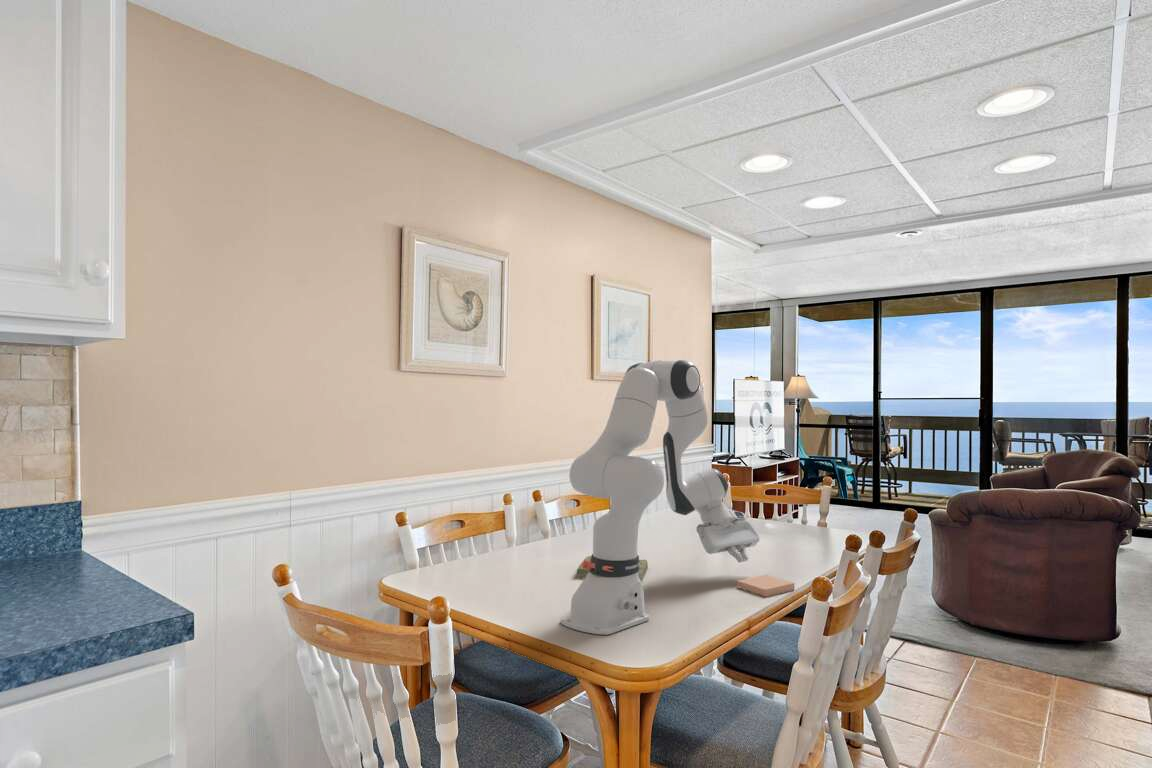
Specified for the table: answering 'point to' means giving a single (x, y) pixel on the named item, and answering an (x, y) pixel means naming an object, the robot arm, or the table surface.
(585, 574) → the decorative tile
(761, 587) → the glazed tile
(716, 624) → the table surface
